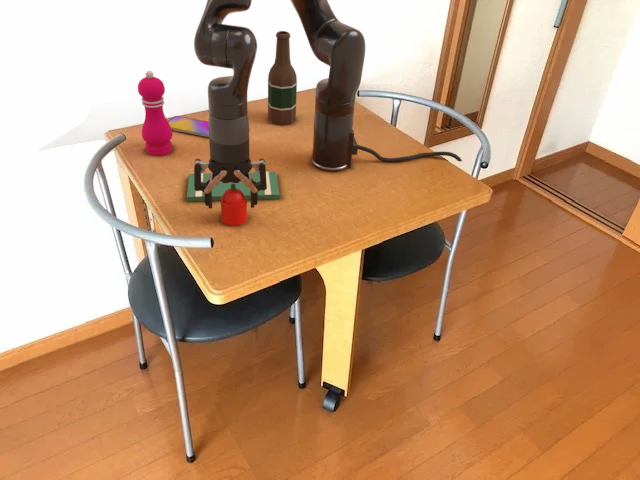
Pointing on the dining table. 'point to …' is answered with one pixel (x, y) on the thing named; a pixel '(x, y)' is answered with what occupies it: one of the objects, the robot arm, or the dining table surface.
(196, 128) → the smartphone
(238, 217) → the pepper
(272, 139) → the dining table surface
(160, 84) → the pepper mill
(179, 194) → the dining table surface
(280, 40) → the beer bottle
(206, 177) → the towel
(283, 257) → the dining table surface
